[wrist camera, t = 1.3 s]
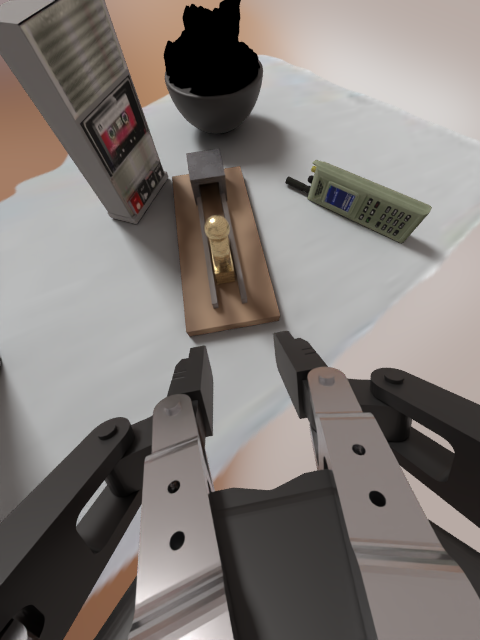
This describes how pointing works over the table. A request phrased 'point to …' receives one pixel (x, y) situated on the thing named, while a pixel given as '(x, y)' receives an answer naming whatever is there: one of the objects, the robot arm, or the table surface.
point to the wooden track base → (197, 263)
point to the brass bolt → (220, 248)
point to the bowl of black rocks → (212, 69)
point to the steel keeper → (206, 171)
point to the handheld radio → (363, 201)
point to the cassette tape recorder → (85, 96)
